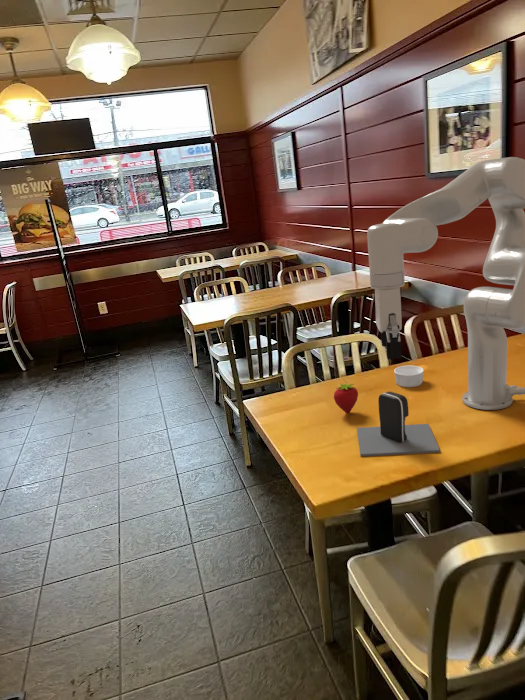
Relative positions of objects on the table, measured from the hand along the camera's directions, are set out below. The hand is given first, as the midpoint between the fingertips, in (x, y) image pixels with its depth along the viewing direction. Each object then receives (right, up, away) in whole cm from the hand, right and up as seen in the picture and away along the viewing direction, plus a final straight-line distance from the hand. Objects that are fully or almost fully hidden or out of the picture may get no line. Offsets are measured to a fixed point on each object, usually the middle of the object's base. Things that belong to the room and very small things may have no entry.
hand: (391, 351), depth 122 cm
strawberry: (-6, -17, +24) cm, 30 cm away
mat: (+2, -22, +5) cm, 23 cm away
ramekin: (+16, -10, +40) cm, 44 cm away
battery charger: (+2, -21, +6) cm, 22 cm away
